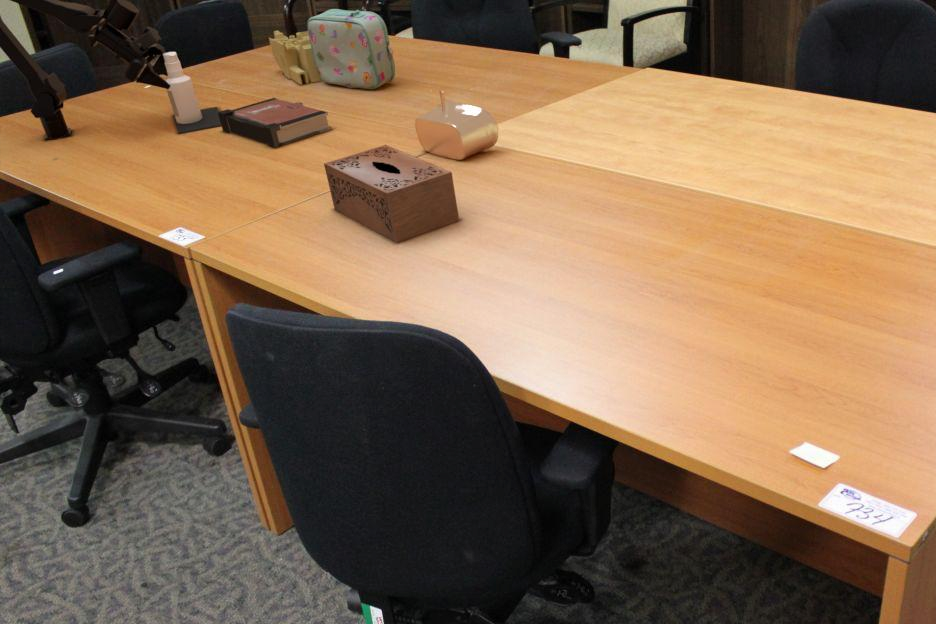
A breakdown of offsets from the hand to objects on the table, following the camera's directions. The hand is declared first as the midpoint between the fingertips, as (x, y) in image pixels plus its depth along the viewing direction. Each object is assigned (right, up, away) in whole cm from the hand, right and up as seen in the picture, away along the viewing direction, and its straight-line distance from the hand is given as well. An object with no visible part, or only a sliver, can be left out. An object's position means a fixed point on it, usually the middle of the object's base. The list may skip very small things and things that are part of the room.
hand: (174, 83), depth 261 cm
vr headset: (+82, -26, -31) cm, 91 cm away
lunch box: (+44, +8, +27) cm, 52 cm away
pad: (+4, -8, +6) cm, 11 cm away
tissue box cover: (+73, -48, -63) cm, 107 cm away
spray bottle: (+2, -9, +6) cm, 11 cm away
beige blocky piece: (+26, +17, +43) cm, 53 cm away
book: (+30, -15, -6) cm, 34 cm away
